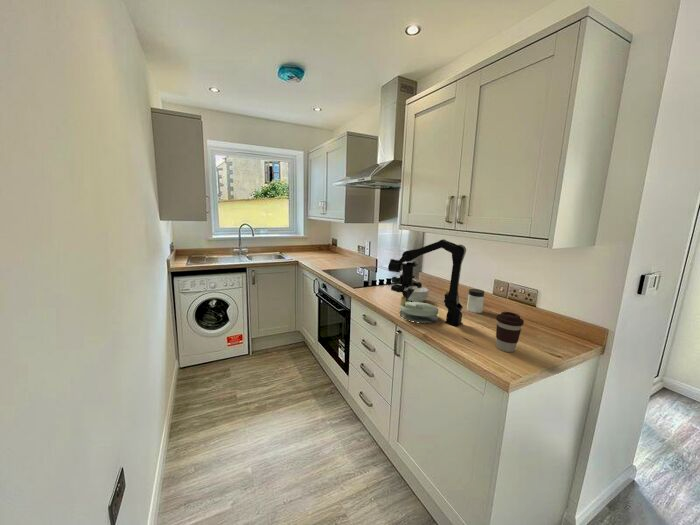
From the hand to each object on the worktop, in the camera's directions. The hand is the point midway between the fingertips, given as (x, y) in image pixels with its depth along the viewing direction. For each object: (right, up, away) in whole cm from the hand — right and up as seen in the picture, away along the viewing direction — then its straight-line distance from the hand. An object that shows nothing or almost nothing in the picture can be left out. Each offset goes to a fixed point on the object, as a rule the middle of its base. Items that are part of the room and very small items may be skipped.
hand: (405, 301), depth 159 cm
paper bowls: (+11, -3, +25) cm, 27 cm away
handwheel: (+6, -4, -5) cm, 9 cm away
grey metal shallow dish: (+6, -7, -4) cm, 10 cm away
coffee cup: (+35, -15, -36) cm, 53 cm away
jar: (+42, -7, +10) cm, 44 cm away
